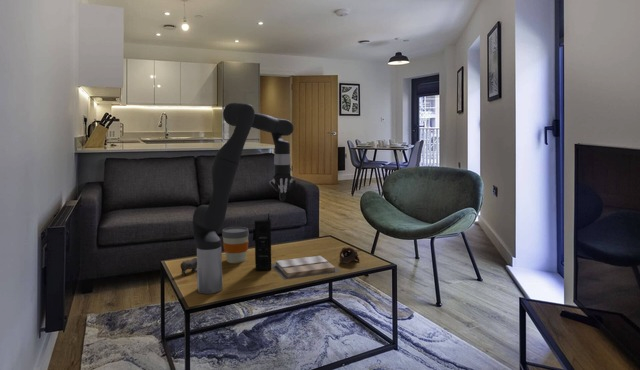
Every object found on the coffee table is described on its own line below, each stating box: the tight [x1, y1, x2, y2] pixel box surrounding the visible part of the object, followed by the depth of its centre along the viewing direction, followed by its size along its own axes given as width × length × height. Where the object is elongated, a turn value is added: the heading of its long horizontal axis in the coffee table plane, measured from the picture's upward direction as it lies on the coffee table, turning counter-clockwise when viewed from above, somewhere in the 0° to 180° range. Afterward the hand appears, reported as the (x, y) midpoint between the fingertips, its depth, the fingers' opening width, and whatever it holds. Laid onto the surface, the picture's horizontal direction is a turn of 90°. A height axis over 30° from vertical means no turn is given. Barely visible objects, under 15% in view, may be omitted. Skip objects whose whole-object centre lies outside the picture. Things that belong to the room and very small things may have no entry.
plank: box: [275, 255, 329, 271], centre depth 197 cm, size 22×9×2 cm, turn 112°
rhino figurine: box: [180, 257, 197, 277], centre depth 190 cm, size 4×14×6 cm, turn 146°
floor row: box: [283, 262, 336, 277], centre depth 189 cm, size 22×7×2 cm, turn 112°
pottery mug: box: [339, 246, 360, 265], centre depth 203 cm, size 12×10×8 cm
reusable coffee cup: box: [221, 226, 250, 264], centre depth 205 cm, size 13×13×15 cm
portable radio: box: [252, 213, 272, 272], centre depth 191 cm, size 8×6×25 cm
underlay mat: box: [271, 263, 342, 281], centre depth 194 cm, size 26×22×1 cm
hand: (282, 200), depth 203 cm, fingers closed
